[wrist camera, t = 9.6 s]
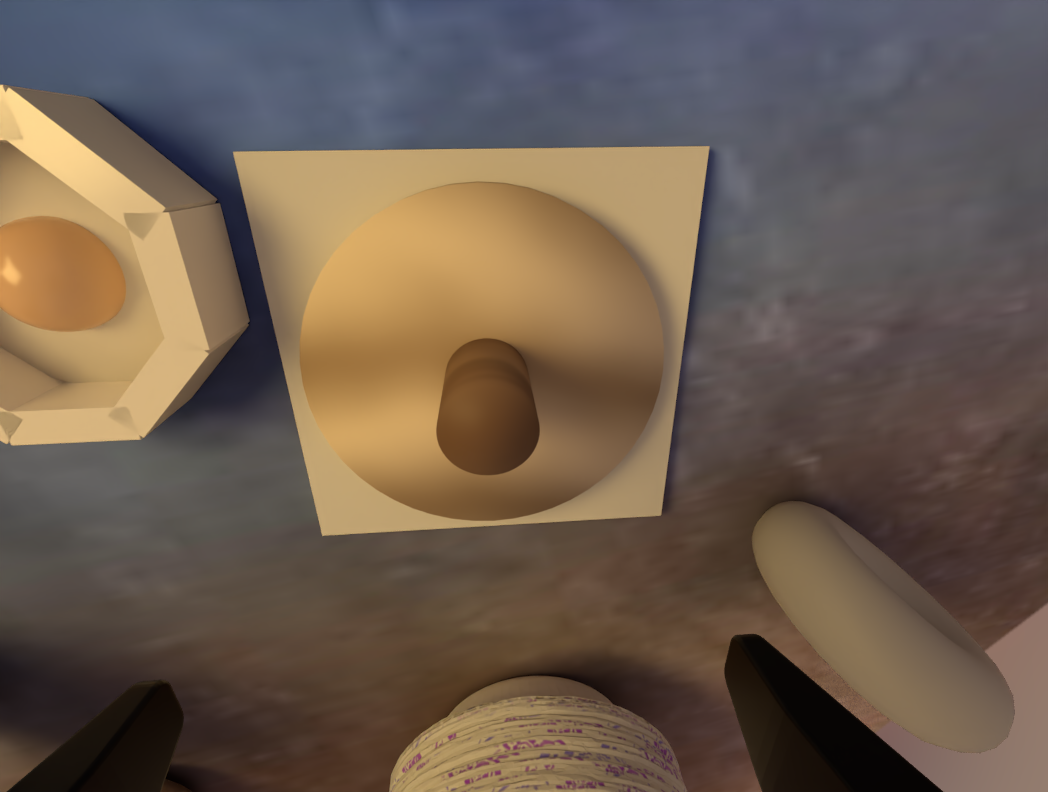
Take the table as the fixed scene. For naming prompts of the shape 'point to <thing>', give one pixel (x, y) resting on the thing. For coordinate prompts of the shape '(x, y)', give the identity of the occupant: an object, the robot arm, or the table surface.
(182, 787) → the plastic bottle
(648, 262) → the mat
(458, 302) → the lid
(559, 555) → the table surface
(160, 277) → the dish
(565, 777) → the paper bowls
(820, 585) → the donut
